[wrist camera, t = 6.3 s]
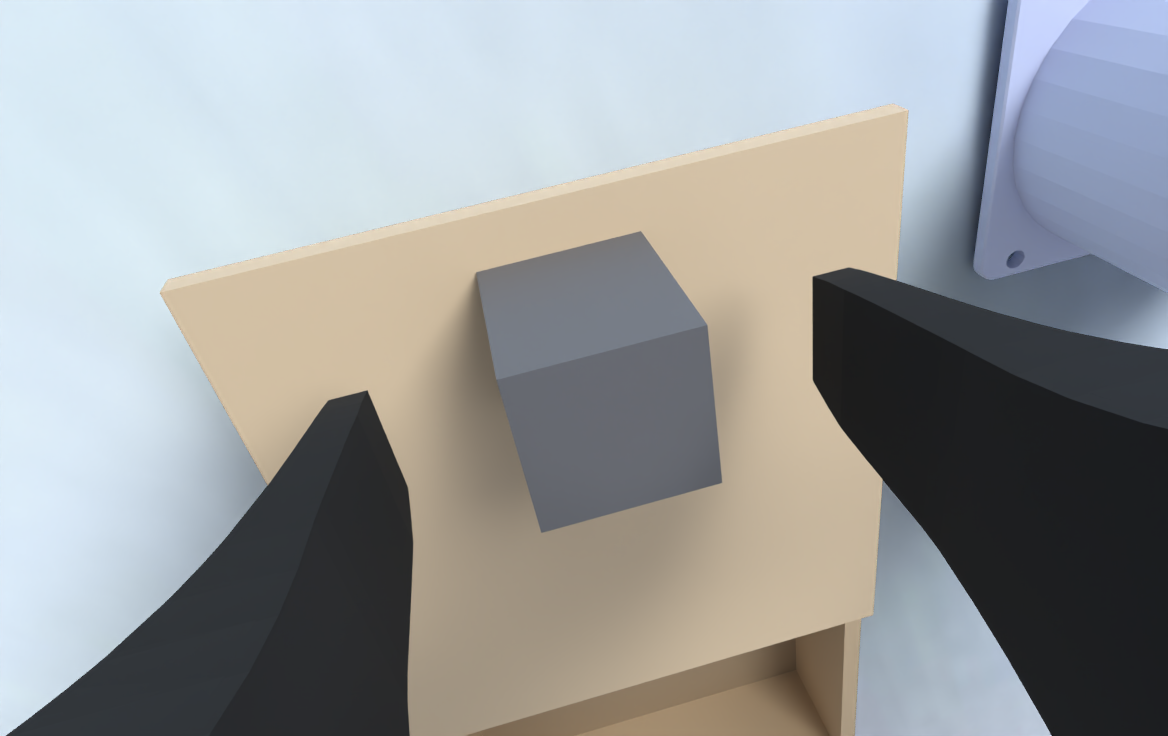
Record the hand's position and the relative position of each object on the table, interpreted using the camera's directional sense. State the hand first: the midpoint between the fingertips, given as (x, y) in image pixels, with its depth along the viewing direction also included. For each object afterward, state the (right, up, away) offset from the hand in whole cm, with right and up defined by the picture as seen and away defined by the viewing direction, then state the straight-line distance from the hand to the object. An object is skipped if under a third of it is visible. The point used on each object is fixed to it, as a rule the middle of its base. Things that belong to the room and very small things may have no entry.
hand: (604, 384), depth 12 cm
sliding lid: (0, -2, +5) cm, 6 cm away
